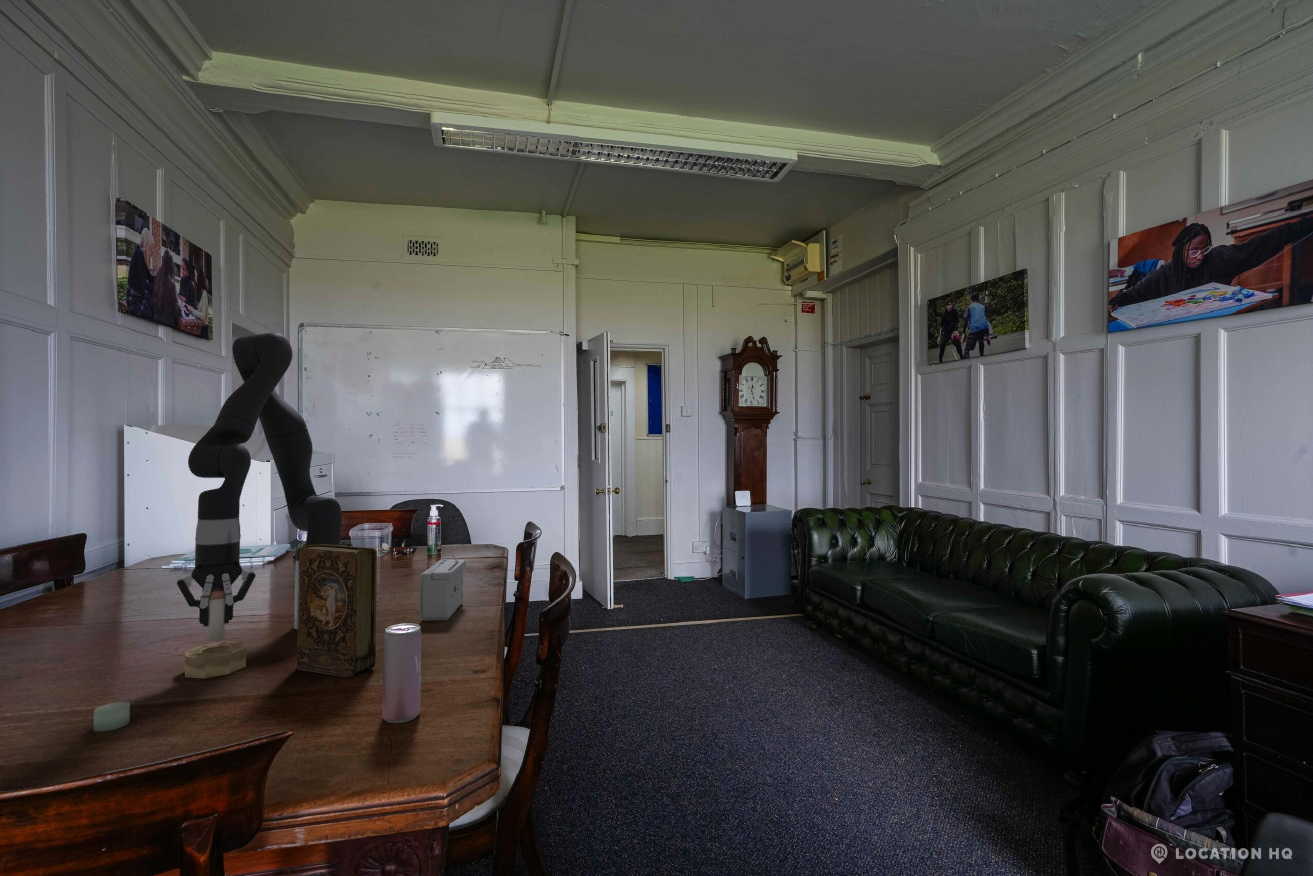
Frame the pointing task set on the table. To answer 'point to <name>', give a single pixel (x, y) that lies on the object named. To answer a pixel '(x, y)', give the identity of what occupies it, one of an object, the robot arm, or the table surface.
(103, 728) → the bead
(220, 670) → the bead
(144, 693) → the table surface
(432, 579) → the stereo radio cassette player
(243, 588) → the robot arm
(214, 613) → the grey cylinder
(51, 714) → the table surface
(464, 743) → the table surface
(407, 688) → the beverage can
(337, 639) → the book
